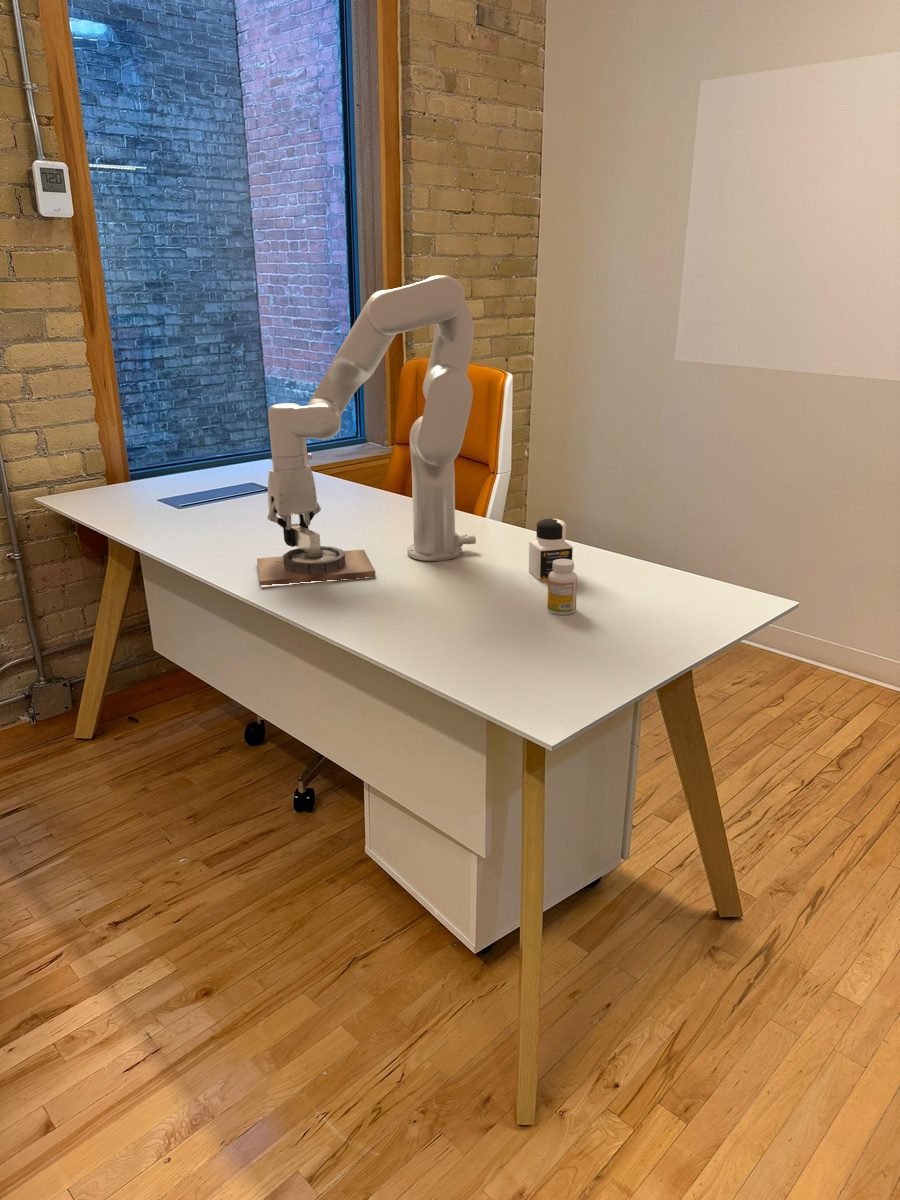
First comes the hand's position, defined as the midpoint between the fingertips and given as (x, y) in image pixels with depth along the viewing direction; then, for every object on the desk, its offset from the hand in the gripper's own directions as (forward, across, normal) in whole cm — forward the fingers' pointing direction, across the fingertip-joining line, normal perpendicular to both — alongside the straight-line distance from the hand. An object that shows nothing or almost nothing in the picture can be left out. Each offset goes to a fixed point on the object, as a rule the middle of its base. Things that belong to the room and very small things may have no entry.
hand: (297, 543), depth 192 cm
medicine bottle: (+5, -35, +44) cm, 57 cm away
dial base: (+4, 0, +8) cm, 9 cm away
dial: (+3, 0, +5) cm, 6 cm away
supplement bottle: (+5, -22, +60) cm, 64 cm away
